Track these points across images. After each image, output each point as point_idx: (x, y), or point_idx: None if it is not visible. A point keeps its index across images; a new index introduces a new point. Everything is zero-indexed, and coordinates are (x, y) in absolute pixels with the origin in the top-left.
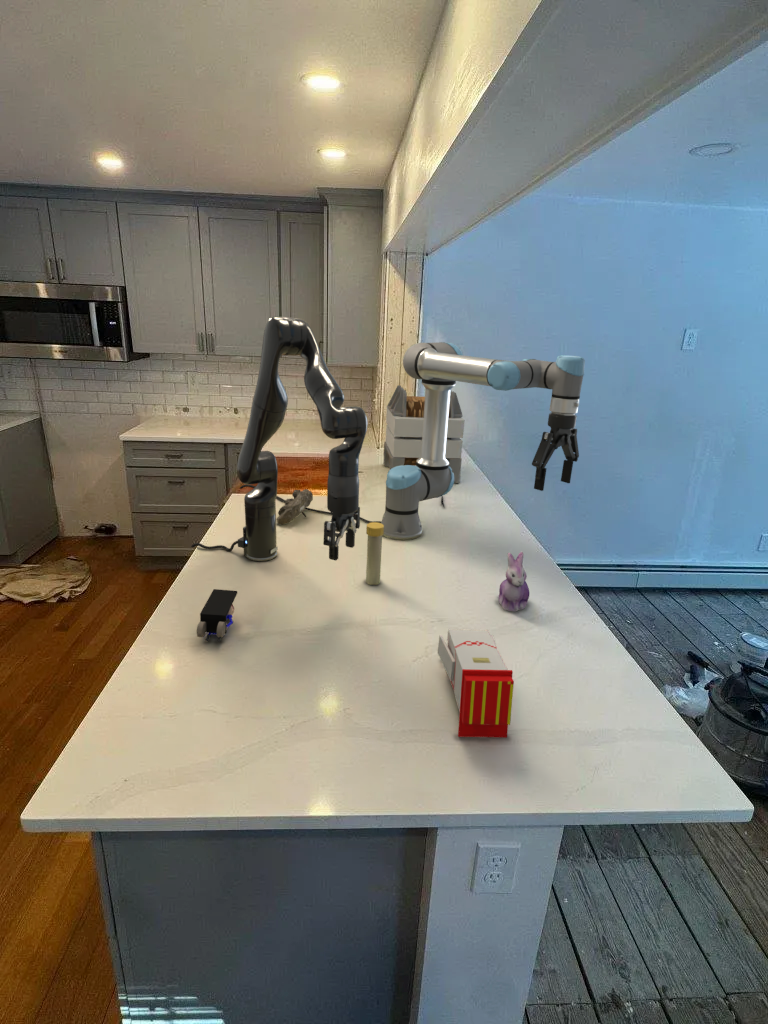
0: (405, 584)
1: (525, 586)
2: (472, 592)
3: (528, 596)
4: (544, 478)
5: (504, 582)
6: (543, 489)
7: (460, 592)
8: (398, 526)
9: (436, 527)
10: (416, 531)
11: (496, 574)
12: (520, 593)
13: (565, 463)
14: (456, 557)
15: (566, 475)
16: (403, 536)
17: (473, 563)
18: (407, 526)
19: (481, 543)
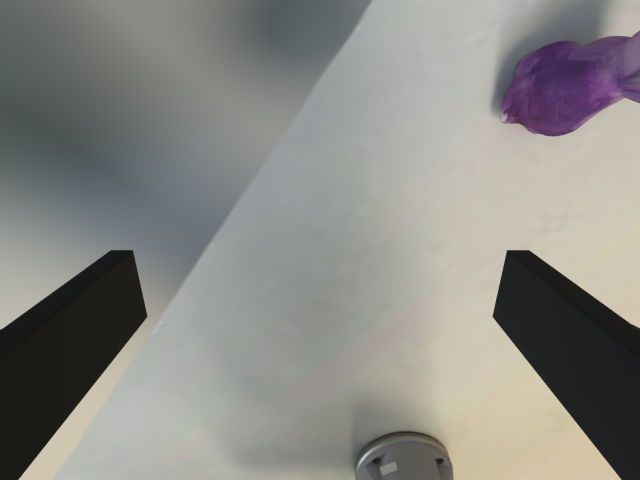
0: (621, 302)
1: (583, 49)
2: (556, 191)
3: (556, 42)
4: (594, 308)
5: (595, 113)
6: (513, 253)
7: (576, 208)
8: (443, 477)
9: (313, 447)
10: (406, 448)
11: (422, 219)
12: (624, 36)
13: (20, 441)
14: (415, 330)
15: (103, 312)
16: (436, 446)
17: (412, 289)
18: (431, 468)
19: (297, 347)
